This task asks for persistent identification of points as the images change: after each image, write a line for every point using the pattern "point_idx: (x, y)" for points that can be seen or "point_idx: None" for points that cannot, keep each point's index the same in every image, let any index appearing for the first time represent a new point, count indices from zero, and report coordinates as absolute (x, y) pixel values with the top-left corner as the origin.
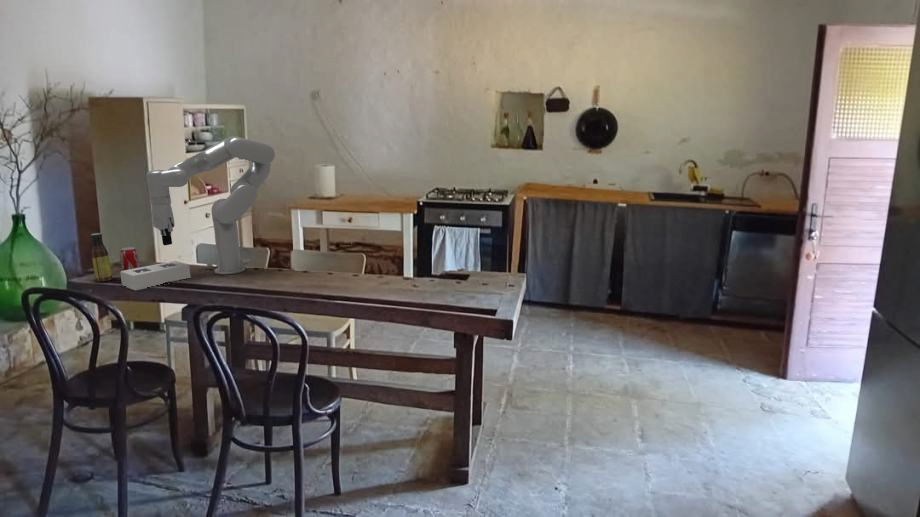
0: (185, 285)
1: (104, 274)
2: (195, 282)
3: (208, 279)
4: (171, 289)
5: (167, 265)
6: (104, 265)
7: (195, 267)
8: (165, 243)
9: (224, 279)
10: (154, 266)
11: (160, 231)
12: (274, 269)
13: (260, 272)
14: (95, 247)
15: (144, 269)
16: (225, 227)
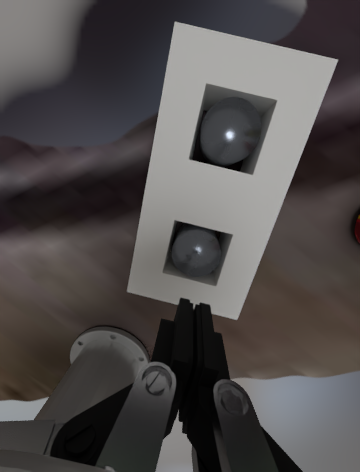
0: (85, 202)
1: None
2: (90, 240)
3: (87, 278)
4: (80, 146)
5: (199, 252)
6: None
7: (240, 361)
8: (177, 310)
9: (49, 293)
10: (239, 216)
11: (259, 446)
12: (33, 396)
13: (36, 369)
14: None
15: (237, 155)
16: None
